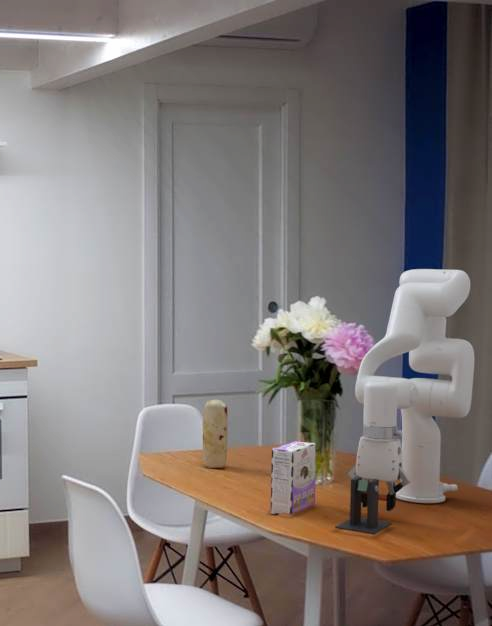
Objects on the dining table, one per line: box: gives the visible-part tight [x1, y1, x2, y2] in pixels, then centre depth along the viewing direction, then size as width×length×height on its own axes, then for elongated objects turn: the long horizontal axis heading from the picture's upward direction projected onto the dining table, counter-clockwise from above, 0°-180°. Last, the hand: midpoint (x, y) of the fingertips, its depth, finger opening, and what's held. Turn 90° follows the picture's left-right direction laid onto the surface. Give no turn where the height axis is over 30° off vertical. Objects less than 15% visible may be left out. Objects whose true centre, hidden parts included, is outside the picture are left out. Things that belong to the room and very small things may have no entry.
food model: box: [202, 399, 229, 469], centre depth 318 cm, size 10×7×20 cm
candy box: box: [269, 440, 317, 516], centre depth 264 cm, size 14×6×16 cm, turn 141°
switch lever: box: [357, 480, 387, 502], centre depth 250 cm, size 12×5×2 cm, turn 142°
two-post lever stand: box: [334, 477, 393, 535], centre depth 247 cm, size 12×9×12 cm
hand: (378, 507), depth 254 cm, fingers closed on switch lever, 5 cm apart
